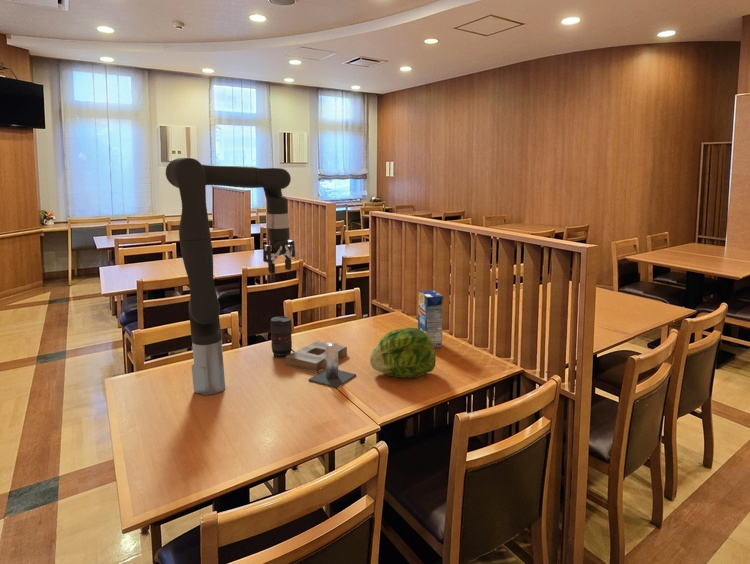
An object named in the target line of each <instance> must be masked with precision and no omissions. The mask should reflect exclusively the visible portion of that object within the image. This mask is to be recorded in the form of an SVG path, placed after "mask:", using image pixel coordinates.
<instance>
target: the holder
mask: <svg viewBox="0 0 750 564" xmlns="http://www.w3.org/2000/svg"><path fill="white" fill-rule="evenodd" d="M326 343H329V342H327V341H323V340H316V341H314V342H313V343H310V344H308V345H307V346H304V347H302V348H300V349H298V350H296V351H294V352H291V354H289V355H287V356H286V357H285V363H286V366H290V367H293V368H296V367H297V369H300V370H304V371H309V372H312V373H318V372H319V370H320V371H322V370H324V369H326V359H325V344H326ZM347 348H348V347H347V346H346V345H340V344H338V361H339V360H341V359H342V358H345V357H346V356H348V349H347ZM321 369H322V370H321Z"/></svg>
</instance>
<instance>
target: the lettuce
mask: <svg viewBox="0 0 750 564" xmlns="http://www.w3.org/2000/svg"><path fill="white" fill-rule="evenodd" d="M435 350H436V349H434V346H433V343H432V341H431V339H430V337H429V335H427V334H426V333H425V332H424V331H422V330H419V329H418V327H405V328H398V329H393V330H390V331H388V333H386V334H385V335H384V336H382V337H381V338H380V339H379V341H378V343H377V344H376V345H375V346H374V348H373V349H372V351H371V352H370V355H369V365H370V366H371V368H372V369H373V370H375V371H377V372H380V373H383V374H386V375H388V376H392V377H394V378H395V377H396V378H408V379H409V378H411V379H413V378H416V377H421V376H422V375H425V374H427V373H431V372H433V370H434V369H435V367H436V363H437V362H436V360H437V358H436V351H435Z"/></svg>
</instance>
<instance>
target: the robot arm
mask: <svg viewBox="0 0 750 564" xmlns="http://www.w3.org/2000/svg"><path fill="white" fill-rule="evenodd" d="M165 177H166V179H167V181H168V182H169V184H170V185H172V186H173V187H175V188H177V189H178V190H179V194H180V199H181V200H180V201H181V214H180V222H179V228H178V239H179V245H180V246H179V247H180V253H181V257H182V261H183V266H184V268H185V272H186V276H187V279H188V284H189V298H190V299H189V302H188V315H189V325H190V327H189V328H190V334H191V335H190V336H191V342H192V343H191V344H192V356H193V364H192V365H191V374H192V375H191V376H192V385H193V392H194V393H196V394H199V395H201V396H205V397H207V396H211V395H215V394H218V393H221V392H222V391H224V390H225V388H226V379H225V377H226V376H225V368H224V367H225V365H224V364H225V363H224V354H223V350H224V349H223V338H222V329H221V322H220V312H221V306H220V302H219V299H218V298H219V297H218V293H217V291H216V286H215V281H214V255H213V253H214V252H213V244H212V243H213V242H212V237H211V231H210V221H209V215H208V207H207V194H206V193H207V192H206V191H207V190H206V189H207V188H206V187H207V186H221V187H229V188H230V187H231V188H242V189H243V188H244V189H258V188H260V189H261V188H262V189H263V192H264V197H265V198H266V205H267V207H266V209H267V218H266V221H267V222H266V223H267V239H268V241H269V244H263V245H262V246H263V247H262V249H263V250H262V253H263V255H262V256H263V257H262V259H263V262H264V263H267V264H268V273H269V274H271V275H275V274H276V260H277V259H278V258H279V256H283V257H284V267H285V270H287V271H290V270H291V269H292V259H293V258H295V257H296V247H295V241H294V240H290V238H291V237H290V234H291V233H290V219H289V206H288V199H287V197H286V196H284V194H283V193H282V190H283V189H286V188H288V187H289V186H290V183H291V180H292V178H291V174H290V173H289V171H288V170H286V169H285V168H282V167H258V166H251V165H249V166H248V165H211V164H210V165H209V164H202V163H201V162H200V161H199V160H198V159H196V158H193V157H179V158H175V159H173V160H171V161H170V162H169V163H168V164H167V166H166V168H165Z"/></svg>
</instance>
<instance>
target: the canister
mask: <svg viewBox="0 0 750 564" xmlns="http://www.w3.org/2000/svg"><path fill="white" fill-rule="evenodd" d="M338 345H339V344H338V343H337V342H333V341H332V342H331V341H330V342H328V343H326V344H325V359H326V367H325V369H326V378H327V379H337V378H338V377H339V376H338V370H339V360H338Z"/></svg>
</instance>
